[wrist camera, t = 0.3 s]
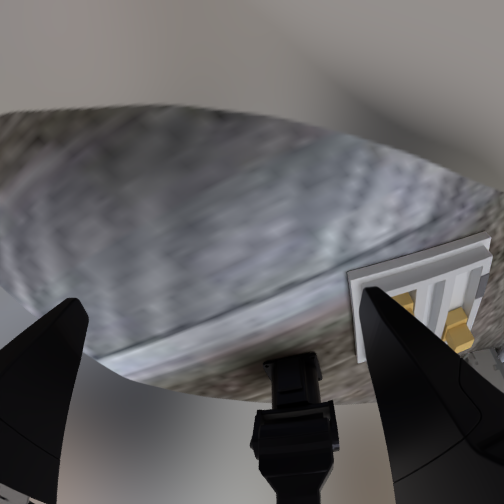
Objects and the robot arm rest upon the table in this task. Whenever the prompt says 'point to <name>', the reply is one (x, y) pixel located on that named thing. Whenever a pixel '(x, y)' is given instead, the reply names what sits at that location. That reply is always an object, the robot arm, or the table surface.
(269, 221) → the table surface
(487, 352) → the circuit breaker
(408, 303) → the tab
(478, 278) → the switch bank
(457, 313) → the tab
